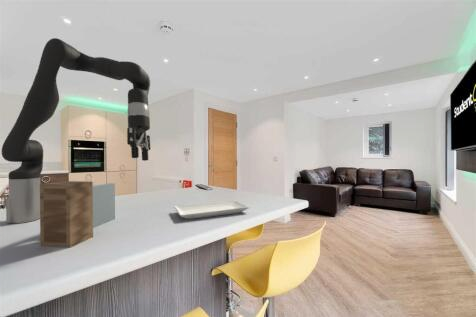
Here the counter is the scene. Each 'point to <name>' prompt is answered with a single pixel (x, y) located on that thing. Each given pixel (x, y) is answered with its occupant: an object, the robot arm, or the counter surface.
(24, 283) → the counter surface
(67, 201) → the cabinet
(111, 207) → the door
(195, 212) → the tray
